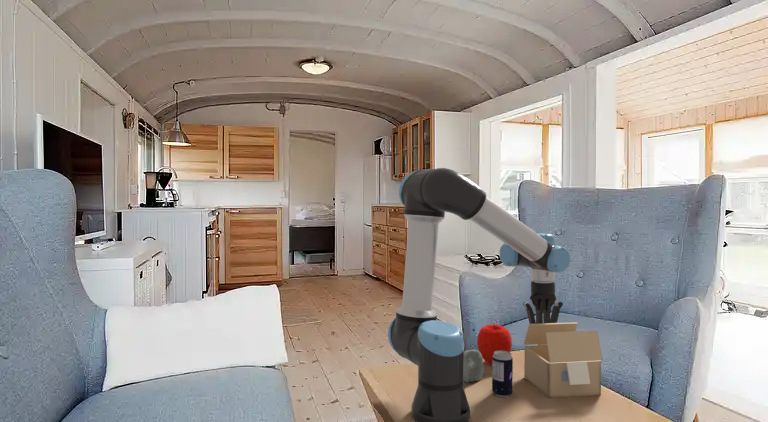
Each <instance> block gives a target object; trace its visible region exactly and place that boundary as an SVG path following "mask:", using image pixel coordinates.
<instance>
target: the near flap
mask: <svg viewBox="0 0 768 422" xmlns="http://www.w3.org/2000/svg"><path fill="white" fill-rule="evenodd" d="M545 335H546V342H547V348H548V355H549V362H572V361H593V360H600V361H603V354H602V348H601V343H600V337H599V332H598V330H580V331H579V330H577V331H572V332H546V333H545ZM566 366H567V372H568V379H569V385H577V384H590V378H589V372H588V366H587V362H574V363H566Z"/></svg>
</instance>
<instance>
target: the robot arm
mask: <svg viewBox="0 0 768 422" xmlns="http://www.w3.org/2000/svg"><path fill="white" fill-rule="evenodd" d="M487 195H488V194H487V191H486V190H484V189H483V187H481V186H479V185H478V184H477V183H475V182H474V181H472V180H471V179H469V178H468V177H466V176H465V175H463V174H461V173H460V172H458V171H456V170H453V169H450V168H446V167H439V168H438V167H437V168H427V169H418V170H415V171H412V172H410V173H409V174H407V175H406V176H405V177H404V178H403V179H402V181H401V183H400V184H399V189H398V196H399V200H400V202H401V203H402V205H403V206H404V207H403V208H404V209H403V216H404V217H405V219H406V220H407V221H408V224H407V225H408V226H407V238H406V251H405V261H404V262H405V265H404V276H403V289H402V290H403V291H402V302H401V303H402V304H401V306H399V307H398V308H396V310H395V311H396V312H395V317H394V318H393V320H392V321H391V322H390V323H389V326H388V330H387V339H388V342H389V345H390V346H391V348H392V349H393V350H394V351H395V352H396V354H398V355H399V356H400V357H402V358H403V359H406V360H408V361H409V362H411V363H412V364H414V365H416V366H417V373H418V374H417V375H418V376H417V378H418V379H417V380H418V381H417V383H418V384H417V388H416V390H415V394H414V397H413V400H412V403H411V418H412V419H413V420H414V421H415V422H469V421H470V419H471V407H470V404H469V401H468V398H467V397H468V396H467V394H466V391H465V389H464V381H463V360H464V351H465V339H464V334H463V331H462V329H461V328H460V327H459V326H457V325H456V324H454V323H452V322H449V321H446V322H445V321H444V320H437V318H438V313H437V312H436V311H435V310H434V309H433V301H434V286H435V273H436V263H437V262H436V261H437V247H438V237H439V236H438V235H439V225H440V223H441V222H443V221H444V220H445V214H446V213H450V214H454V215H455V216H457V217H459V218H460V219H462V220H463V221H469V220H470V221H472V222H473V223H474V224H476V225H478V226H479V227H480V228H482V229H484V230H485V231H487V233H489V234H491V235H492V236H494V237H495V238H497V239H498V240H499V241H501V242H502V243H503V244H502V245H501V246H500V248H499V258H500V259H499V260H500V261H501V263H502V264H503V265H504V266H506V267H517V266H518V267H519V266H520V267H525V268H530V279H531V281H530V293H531V295H530V297H529V300H528V301H524V302H523V303H522V305H523V307H524V308H525V311H526V315H527V319H528V323H529V324H541V323H558V320H559V314H560V312H561V309H562V307H563V305H564V302H563V301H561V300H558V299H557V296H556V294H555V293H556V282H555V280H556V273H563V272H566V270H567V269H568V268H569V266H570V264H571V254H570V251H569V250H568V249H567V248H566V247H564V246H560V245H556V239H555V235H553V234H552V233H536V231H534V230H533V229H531V228H530V227H529V226H527V225H526V224H525V223H523V222H522V221H521V220H519V219H518V218H516V217H515V216H514V215H512V214H511V213H509V212H508V211H507V210H506V209H504V208H503V207H501V206H500V205H499V204H497V203H496V202H495V201H493V200H492V199H491V198H490V197H488V196H487ZM533 306H534V309H535V314H534V310H533Z"/></svg>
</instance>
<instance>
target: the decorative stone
mask: <svg viewBox="0 0 768 422" xmlns="http://www.w3.org/2000/svg"><path fill="white" fill-rule="evenodd" d="M483 362H484V359H483V357H482V355H481V353H480V352H479V349H468V350H464V360H463V382H465V383H471V382H478V381H480V380H482V377H483V376H484V374H485V373H484V364H483Z"/></svg>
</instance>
